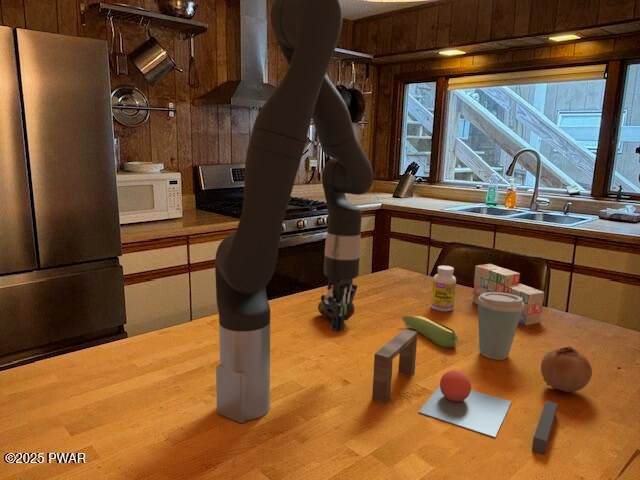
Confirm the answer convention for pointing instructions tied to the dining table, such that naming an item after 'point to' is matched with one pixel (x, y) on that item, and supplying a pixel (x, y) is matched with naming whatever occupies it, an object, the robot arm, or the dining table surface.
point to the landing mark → (469, 411)
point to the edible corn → (432, 330)
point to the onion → (566, 369)
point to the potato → (324, 313)
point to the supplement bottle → (443, 289)
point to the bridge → (384, 359)
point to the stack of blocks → (508, 290)
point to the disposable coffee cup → (498, 323)
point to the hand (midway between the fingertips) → (337, 330)
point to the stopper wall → (544, 427)
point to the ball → (455, 385)
